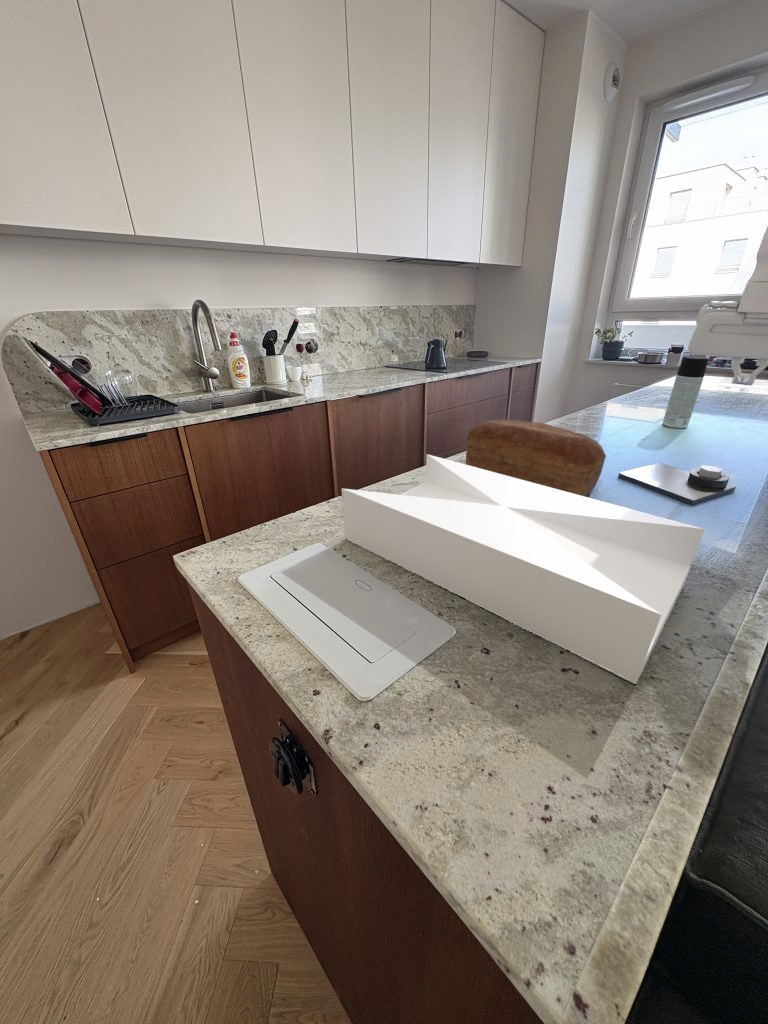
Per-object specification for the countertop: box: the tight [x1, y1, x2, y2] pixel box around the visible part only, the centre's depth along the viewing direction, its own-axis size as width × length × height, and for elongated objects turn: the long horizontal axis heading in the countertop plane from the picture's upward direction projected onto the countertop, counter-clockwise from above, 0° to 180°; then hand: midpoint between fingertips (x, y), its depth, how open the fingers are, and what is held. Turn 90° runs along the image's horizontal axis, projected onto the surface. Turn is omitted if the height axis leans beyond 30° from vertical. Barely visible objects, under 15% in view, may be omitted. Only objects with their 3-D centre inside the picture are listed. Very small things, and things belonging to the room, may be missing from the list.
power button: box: [699, 465, 723, 479], centre depth 86 cm, size 4×4×2 cm
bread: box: [465, 418, 607, 497], centre depth 90 cm, size 14×28×12 cm, turn 46°
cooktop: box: [617, 462, 737, 507], centre depth 89 cm, size 16×14×3 cm
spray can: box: [662, 355, 709, 429], centre depth 124 cm, size 7×7×20 cm
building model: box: [341, 453, 706, 685], centre depth 63 cm, size 45×22×10 cm, turn 47°
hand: (741, 384), depth 78 cm, fingers closed
